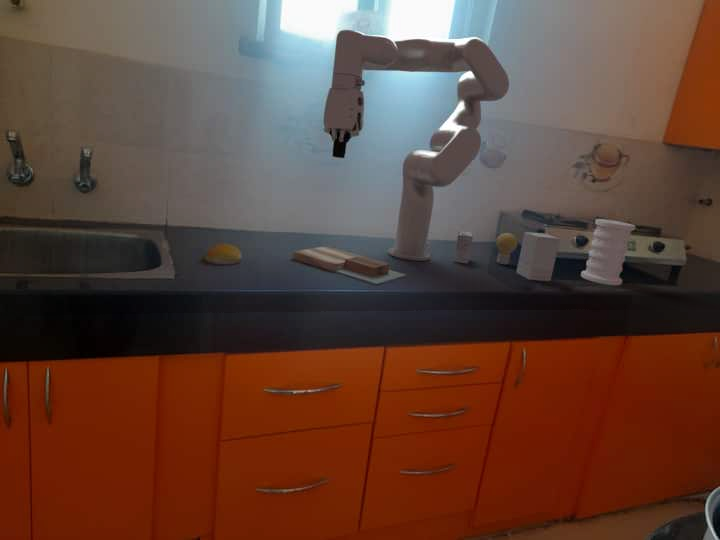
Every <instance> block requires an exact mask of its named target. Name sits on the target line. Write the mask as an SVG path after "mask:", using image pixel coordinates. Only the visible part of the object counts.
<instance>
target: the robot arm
mask: <svg viewBox="0 0 720 540" xmlns="http://www.w3.org/2000/svg"><path fill="white" fill-rule="evenodd" d="M335 40H336V41H335V48H334V58H333V60H334V61H333V68H332V79H331V87H330V88H329V90H328V93H327V97H326V100H325V101H326V102H325V107H324V112H323V126H324V128H323V131H324V133H326V134H328V135H330V137H331V140H332V141H333V146H332V157H333V158H339V159H344V158H345V157H346V149H347V143H349V142H350V140H351V139H352V138H354V137H359V136H360V132H362V130H363V127H364V117H365V96H364V91H362V87H364V86H366V85H365V84H366V81H365V80H364V79H363V72H364V71H389V72H391V71H392V72H393V71H395V72H396V71H397V72H410V73H413V72H414V73H462V72H463V73H464V72H465V73H464V74H463V75H461V77H460V78H459V80H458V81H457V86H456V87H457V88H456V93H457V94H456V95H457V102H456V103H457V104H456V107H455V109H454V111H453V112H452V113H451V114H450V115H449V117H448V118H446V120H445V121H443V123H442V124H441V125H440V126H439V127H438V128H437V129H436V130H435V132H433V134H432V136H431V137H430V140H429V148H430V150H427V149H417V150H412V151H411V152H410V153H408V155H406V157H405V159H404V161H403V164H402V193H401V198H400V199H401V200H400V205H399V214H398V219H397V221H398V222H397V226H396V233H395V241H394V246H393V247H390V248H389V249H388V254H389V255H390V256H392V257H395V258H398V259H400V260H401V259H403V260H409V261H416V262H421V261H422V262H424V261H428V260H430V258H431V255H430V254H429V253H428V252H426V251H427V249H429V248H430V247H431V243H430V242H429V241H428V238H429V231H430V226H431V225H430V224H431V219H432V215H433V213H432V212H433V206H434V201H435V197H434V188H446V187H447V186H450V185H451V184H452V183H453V182H455V180H456V179H457V178H459V176H461V174H462V173H463V172H464V171H465V170H466V168H468V166H469V165H470V164H472V162H473V161H474V160H475V158H477V156H478V154H479V152H480V150H481V145H482V137H481V134H480V132H479V131H478V130H477V129H478V128H479V125H480V124H481V121H482V109H481V102H495V101H499V100H501V99H503V98H504V97H505V96H506V94H507V93H508V91H509V87H510V86H509V85H510V81H509V76H508V74H507V72H506V70H505V69H504V67H503V65H502V64H501V62H500V61H499V59H498V58H497V57H496V56H495V54H494V52H493V51H492V50H491V49H490V47H489V45H488V44H487V43H485V41H484V40H482V39H481V38H478V37H475V36H473V37H467V38H466V37H465V38H458V39H451V38H448V39H447V38H433V37H431V38H430V37H416V38H414V37H413V38H409V39H403V40H393V39H392V38H390V37H387V36H384V35H374V34H373V35H372V34H366V33H363V32H360V31H358V30H354V29H353V30H352V29H341V30H340V31H338V33H337V35H336V39H335Z"/></svg>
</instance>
